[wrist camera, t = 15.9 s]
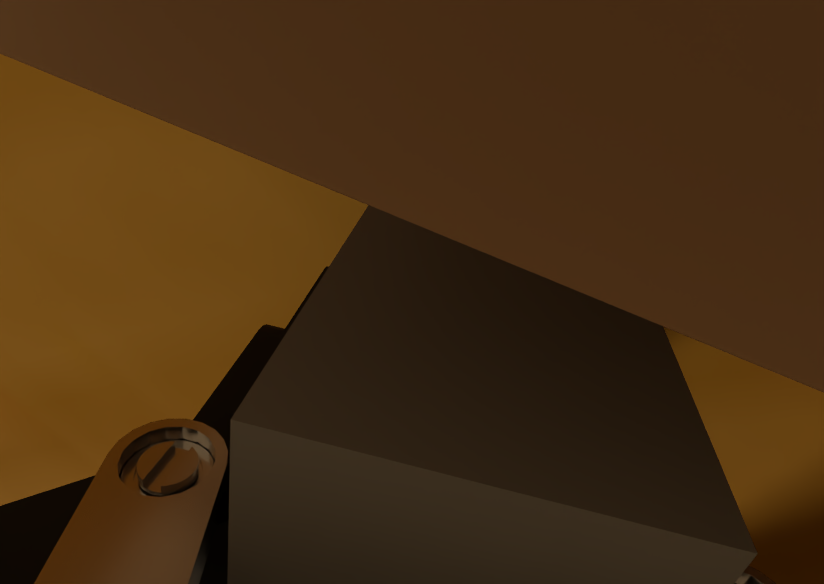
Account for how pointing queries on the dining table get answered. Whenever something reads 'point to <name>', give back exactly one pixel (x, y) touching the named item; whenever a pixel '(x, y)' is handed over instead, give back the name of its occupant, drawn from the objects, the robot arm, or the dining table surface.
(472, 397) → the block
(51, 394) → the dining table surface
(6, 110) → the dining table surface
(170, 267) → the dining table surface
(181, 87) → the door
